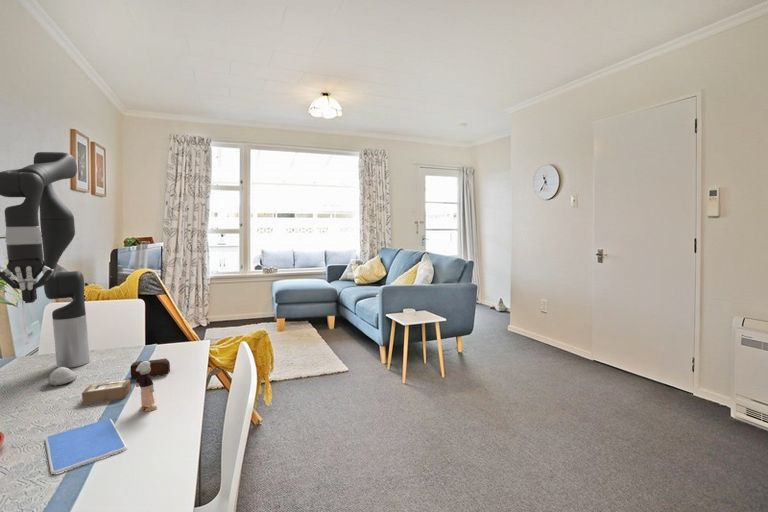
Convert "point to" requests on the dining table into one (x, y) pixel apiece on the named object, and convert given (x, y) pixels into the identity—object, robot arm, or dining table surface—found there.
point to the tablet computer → (83, 445)
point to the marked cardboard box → (106, 391)
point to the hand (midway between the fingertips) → (30, 302)
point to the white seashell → (61, 376)
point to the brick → (152, 368)
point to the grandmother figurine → (145, 386)
